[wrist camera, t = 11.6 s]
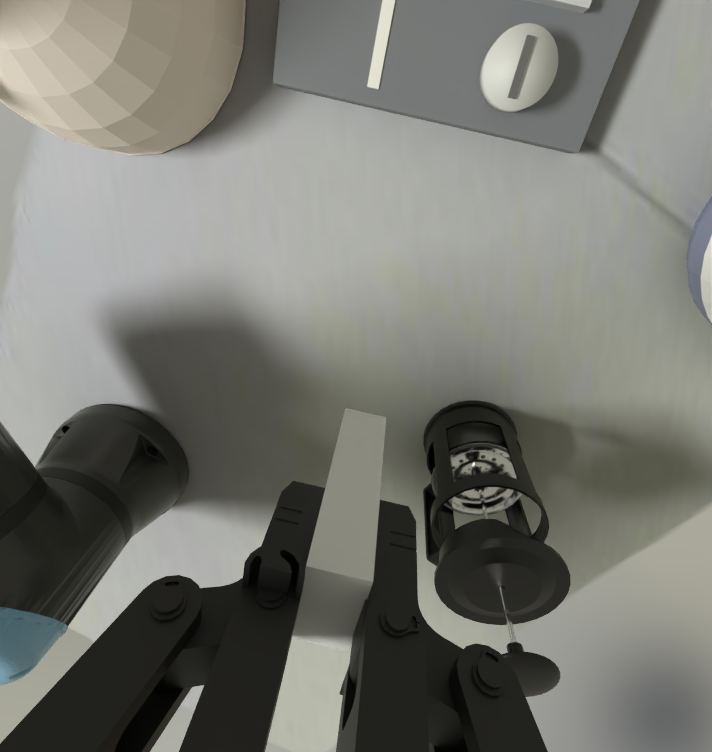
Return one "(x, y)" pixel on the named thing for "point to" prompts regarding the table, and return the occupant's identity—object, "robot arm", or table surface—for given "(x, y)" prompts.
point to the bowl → (701, 262)
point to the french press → (490, 536)
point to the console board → (459, 60)
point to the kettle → (120, 68)
